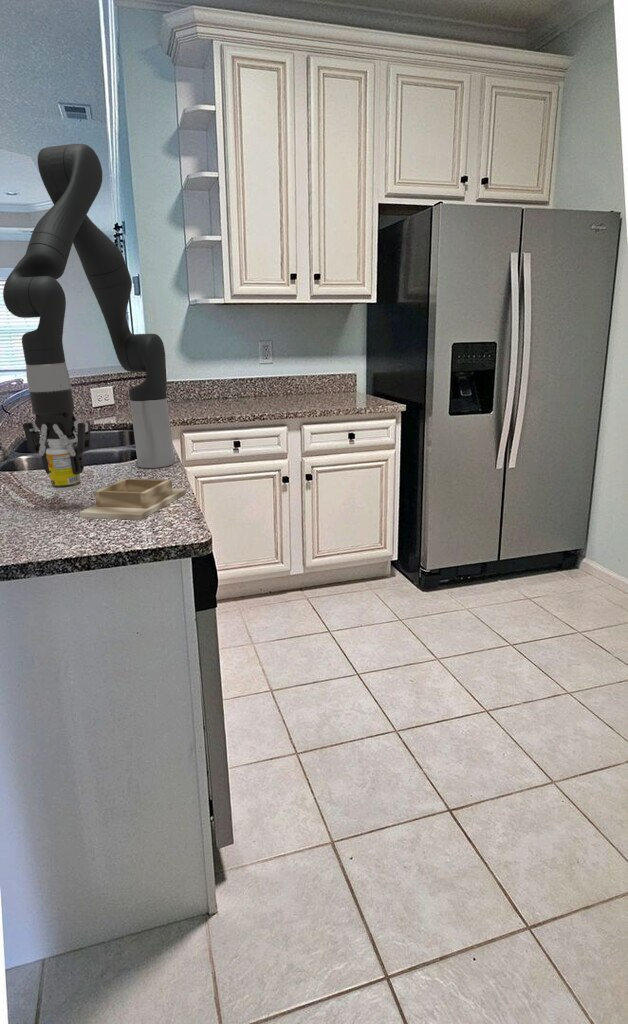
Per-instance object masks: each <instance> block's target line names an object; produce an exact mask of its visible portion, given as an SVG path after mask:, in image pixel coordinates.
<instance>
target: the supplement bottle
mask: <svg viewBox="0 0 628 1024" xmlns="http://www.w3.org/2000/svg"><path fill="white" fill-rule="evenodd" d="M69 440H71V438H69ZM48 445H49V448H47V449H46V457H47V463H48V468H49V473H50V474H49V477H50V478H49V479H50V483H51V487H52V489H53V490H55V491H58V492H60V491H61V492H63V491H70V490H71V491H72V490H74V489H78V488H79V487H80V486H81V485H82V482H81V481H82V480H81V473H80V474H78V475H75V474H73V470H72V464H71V458H70V457H71V454H70V453H69V451H68V449H67V447H66V446H64V445H63V443H62V441H61V440H60V439H48Z"/></svg>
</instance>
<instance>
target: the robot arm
mask: <svg viewBox="0 0 628 1024" xmlns="http://www.w3.org/2000/svg"><path fill="white" fill-rule="evenodd" d="M37 168H38V172H39V175H40V178H41V181H42V183H43V185H44V186H43V187H45V188H44V189H45V190H46V192H47V194H48V196H49V198H50V200H51V202H52V204H53V205H52V206H51V207H50V209H48V211H46V212H45V214H44V215H42V217H41V218H40V219H39V220H38V221H37V222H36V225H35V226H34V228H33V230H32V233H31V235H30V239H29V242H28V245H27V248H26V252H25V254H24V255H23V257H22V258H21V259H20V260H19V261H18V262H17V264H16V265H15V267H14V268H13V269H12V270H11V272H10V273H9V275H8V277H7V278H6V280H5V283H4V285H3V291H2V297H3V302H4V306H5V307H6V309H7V311H8V312H9V313H10V314H12V315H13V316H14V317H17V318H23V319H28V318H30V319H31V318H39V321H38V325H37V328H36V329H35V330H31V331H28V332H25V333H24V334H23V335H22V336H21V345H22V350H23V356H24V362H25V367H26V368H25V369H26V370H25V373H26V381H27V387H28V394H29V397H30V398H29V399H30V404H31V409H32V410H31V411H32V414H34V415H35V419H34V420H32V421H25V422H24V423H22V428H23V431H24V435H25V437H26V440H27V443H28V447H29V449H30V451H31V453H34V454H35V453H37V454H38V455H40V457H41V461H42V465H43V466H42V467H43V470H44V471H45V473H46V474H47V475H50V473H49V468H48V463H47V457H46V449H47V448H49V445H48V439H60V440H61V441H62V443H63V445H64V446H66V447H67V449H68V451H69V453H70V454H71V457H70V458H71V464H72V470H73V474H75V475H78V474H80V475H81V474H83V471H84V470H85V466H84V465H85V464H84V459H83V454H84V453H85V452H89V451H90V450H91V422H90V420H89V421H88V420H86V421H80V420H77V418H76V417H75V415H74V412H75V411H74V410H75V404H74V398H73V392H72V386H71V379H70V374H69V370H68V367H67V363H66V357H65V350H64V344H63V335H64V324H65V317H66V316H65V315H66V309H67V302H66V301H67V300H66V294H65V292H64V289H63V287H62V284H60V282H59V281H58V280H59V279H60V278H61V277H62V276H63V274H64V273H65V270H66V267H67V264H68V260H69V257H70V253H71V249H72V246H74V248H75V249H74V250H76V253H77V256H78V258H79V261H80V263H81V265H82V266H81V267H82V269H83V271H84V274H85V277H86V278H87V281H88V284H89V286H90V288H91V290H92V292H93V294H94V296H95V298H96V301H97V303H98V306H99V308H100V311H101V314H102V316H103V318H104V321H105V324H106V327H107V331H108V333H109V335H110V340H111V343H112V346H113V349H114V351H115V355H116V358H117V360H118V362H119V364H120V365H121V367H122V369H124V370H125V371H127V372H130V373H145V379H144V380H143V381H142V382H141V383H139V384H138V385H136V386H134V387H131V388H130V389H129V391H128V396H129V403H130V412H131V417H132V428H133V429H132V430H133V435H134V437H133V438H134V444H135V451H136V458H137V459H136V460H137V467H138V468H141V469H158V468H165V467H169V466H173V465H174V463H175V454H174V446H173V445H174V443H173V436H172V435H173V434H172V427H171V423H170V413H169V407H168V396H167V395H168V394H167V391H168V390H167V389H168V380H167V379H168V378H167V364H166V363H167V362H166V361H167V360H166V359H167V357H166V350H165V345H164V342H163V340H162V337H160V336H159V335H158V334H157V333H137V334H136V333H133V334H132V331H131V330H130V327H129V325H128V320H127V310H128V306H129V301H130V297H131V294H132V287H133V286H132V285H133V281H132V277H131V274H130V271H129V268H128V265H127V263H126V261H125V260H126V259H125V258H124V255H123V253H122V251H121V250H120V248H119V247H118V246H117V245H116V244H115V243H114V242H113V241H112V239H111V238H110V237H109V236H107V234H106V233H104V231H102V230H101V229H100V228H99V227H98V226H97V225H96V224H95V223H94V222H93V221H92V220H91V219H90V217H89V216H88V213H89V211H90V209H91V208H92V206H93V204H94V201H95V200H96V199H97V196H98V194H99V192H100V190H101V187H102V183H103V168H102V163H101V161H100V159H99V156H98V155H97V153H96V151H95V150H94V149H93V148H92V147H91V146H90V145H87V144H84V143H69V144H60V145H54V146H53V145H52V146H47V147H43V148H41V149H40V150H39V152H38V154H37ZM76 432H77V434H76ZM69 439H70V440H69Z"/></svg>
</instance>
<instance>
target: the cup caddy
mask: <svg viewBox="0 0 628 1024" xmlns="http://www.w3.org/2000/svg"><path fill="white" fill-rule="evenodd" d="M93 493H94V499H95V500H94V501H95V504H94V505H92V506H90V507H88V508H86V509H84V510H82V511H79V515H80V516H79V517H80V518H91V519H92V518H93V519H112V520H131V521H133V520H134V521H136V520H137V521H142V520H144V519H146V518H147V517H149V516H151V515H152V514H154V513H156V512H157V511H159V510H161V509H162V508H164V507H166V506H167V505H170V504H171V503H173V502H174V501H176V500H178V499H179V498H181V497H182V496H184V495H186V494H187V489H186V488H173V483H172V479H154V478H153V479H152V478H151V479H150V478H122V479H120V480H118V481H116V482H113V483H111V484H108V485H107V486H104V487H102V488H100V489H98V490H97V489H96V490H95V491H94V492H93Z"/></svg>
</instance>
